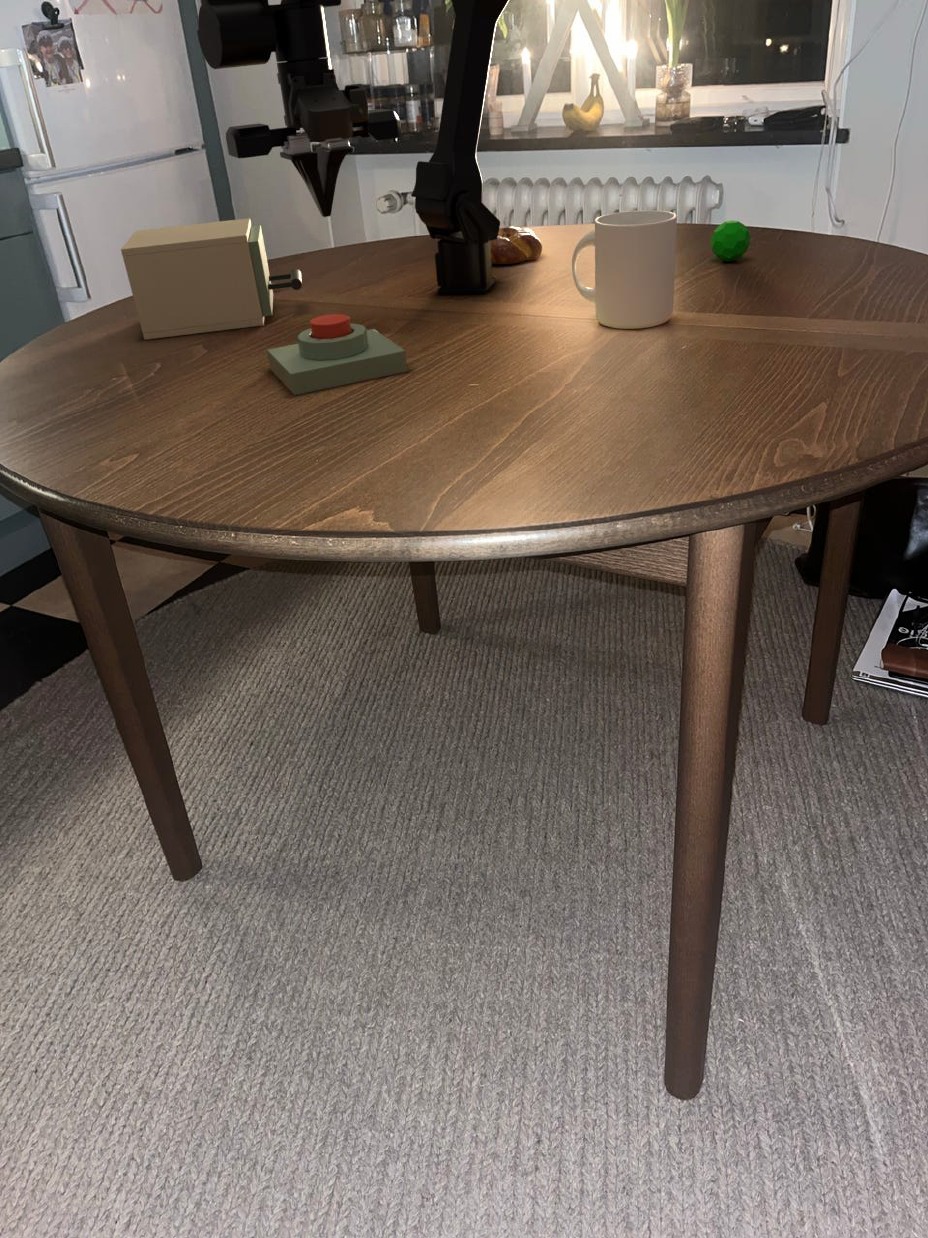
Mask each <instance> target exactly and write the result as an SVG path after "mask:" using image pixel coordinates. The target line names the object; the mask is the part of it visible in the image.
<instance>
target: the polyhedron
mask: <svg viewBox="0 0 928 1238" xmlns="http://www.w3.org/2000/svg"><path fill="white" fill-rule="evenodd" d="M750 243H751V235H750V232H749V230H748V228H747V227H746V225H745V224H743V223H742V222H740V221H739V220H727V221H724V222H722V223H721V224H719V225H718V226H717V227H716V229H714V231H713V232H712V235H711V237H710V248H711V250H712V253H713V254H714V256H715V257H716V258H717V259H719V260H721V261H723V262H733V261H737V260H739V259H740V258H742V257H743V256H744V255H745V253H746V252H747V251H748V249H749V247H750Z"/></svg>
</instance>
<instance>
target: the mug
mask: <svg viewBox="0 0 928 1238" xmlns="http://www.w3.org/2000/svg"><path fill="white" fill-rule="evenodd" d="M677 221H678V215H677V214H676V213H675V212H672V211H667V210H660V209H659V210H658V209H638V210H624V211H616V212H612V213H611V212H610V213H607V214H604V215H600V216H598V217H596V218H595V219H594V229H593V230H591V231H589V232H587V233H586V234H585V235H584V236H583V237H581V239H580V240H579V241H578V242H577V244H576V246H575V248H574V250H573V254H572V258H571V268H572V269H571V271H572V277H573V282H574V286H575V288H576V290H577V291H578V293H579V294H580V295H581V297H582V298H584V299H585V300H586V301H588V302H590V303H592V304H594V310H595V318H596V320H597V322H598V323H599V324H601V325H603V326H605V327H607V328H608V327H609V328H613V329H619V330H620V329H622V330H638V329H647V328H652V327H655V326H659V325H662V324H665V323H667V322H668V321H669V320H670V319H671V317H672V316H673V312H674V305H675V303H674V301H675V281H676V280H675V278H676V277H675V275H676V253H677V252H676V250H677V249H676V248H677V223H678V222H677ZM592 247H594V287H588V286H586V285H584V284H583V283H582V282H581V280H580V279H579V277H578V273H577V261H578V259H579V256H580V255H581V253H583V252H584V250H586V249H589V248H592Z"/></svg>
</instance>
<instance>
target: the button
mask: <svg viewBox="0 0 928 1238" xmlns="http://www.w3.org/2000/svg"><path fill="white" fill-rule="evenodd" d="M350 323H351V319H350V316H349V315H347V314H343V313H332V314H324V315H320V316H317V317H314V318H312V319H310V321H309V324H310V328H311V331H312V337H313V338H314V339H333V338H339V337H344V336H347V335H349V334H351V333H352V332H351V325H350Z"/></svg>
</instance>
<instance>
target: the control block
mask: <svg viewBox="0 0 928 1238" xmlns="http://www.w3.org/2000/svg"><path fill="white" fill-rule="evenodd" d="M350 325H351V332H352V333H351V334H349V335H347V336H344V337H339V338H333V339H314V338H313V337H312V331H311V327H310V328H308V329H305V330H302V331H301V332H300V333H299V334H298V335H297V337H296V339H297V343H294V344H288V345H284V346H279V347H273V348H268V349H266V353H267V358H268V364H269V368H270V369H269V370H270V371H271V372H272V373H273V374H274V375H275V376H276V377H277V378H278V379H279V381H280V382H282V384H283V385H284V386H285V387H286V388H287V389H288V390H289V391H290V392H291V393H292V395H293V396H298V395H303V394H307V393H311V392H317V391H322V390H326V389H327V390H328V389H331V388H335V387H341V386H345V385H350V384H355V383H360V382H364V381H369V380H375V379H378V378H383V377H387V376H393V375H397V374H402V373H406V372H408V364H407V355H406V350H405V349H403V348H402V347H401V346H399V345H398V344H396V343H395V342H393V341H392V340H391V339H389V338H387V337H386V336H384V335H383V334H381V333H380V332H379V331H377V330H376V329H374V328H371V329H367V328H366V327H365V326H364V325H362V324H358V323H353V322H352V323H351V322H350Z"/></svg>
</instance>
